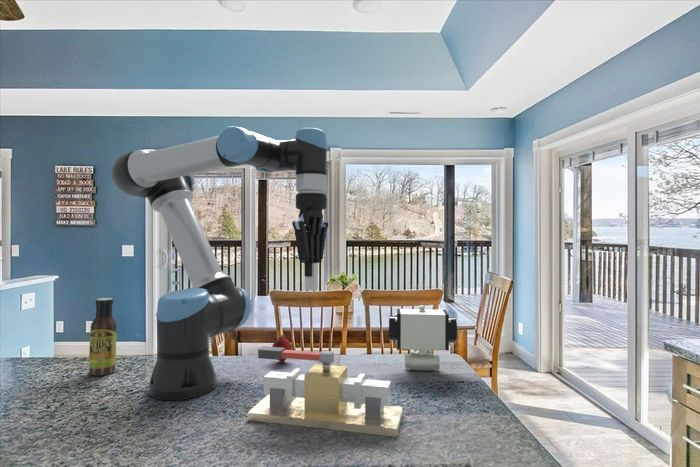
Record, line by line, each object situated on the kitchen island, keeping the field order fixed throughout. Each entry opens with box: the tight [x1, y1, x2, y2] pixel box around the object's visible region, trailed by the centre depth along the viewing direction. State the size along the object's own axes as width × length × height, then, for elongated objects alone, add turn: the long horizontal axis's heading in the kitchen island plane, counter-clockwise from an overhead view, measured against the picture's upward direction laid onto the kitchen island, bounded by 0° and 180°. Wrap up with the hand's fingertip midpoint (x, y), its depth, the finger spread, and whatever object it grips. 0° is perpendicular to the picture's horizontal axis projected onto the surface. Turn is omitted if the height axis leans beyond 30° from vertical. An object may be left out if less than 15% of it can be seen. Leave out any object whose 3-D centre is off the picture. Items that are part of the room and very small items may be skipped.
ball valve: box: [388, 304, 458, 372], centre depth 116 cm, size 18×8×18 cm, turn 84°
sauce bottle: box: [88, 297, 118, 376], centre depth 113 cm, size 6×6×20 cm
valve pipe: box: [247, 363, 404, 438], centre depth 86 cm, size 30×10×11 cm, turn 77°
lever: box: [257, 346, 335, 364], centre depth 88 cm, size 16×3×2 cm, turn 77°
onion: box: [271, 334, 293, 363], centre depth 122 cm, size 6×6×8 cm
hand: (311, 289), depth 103 cm, fingers closed
